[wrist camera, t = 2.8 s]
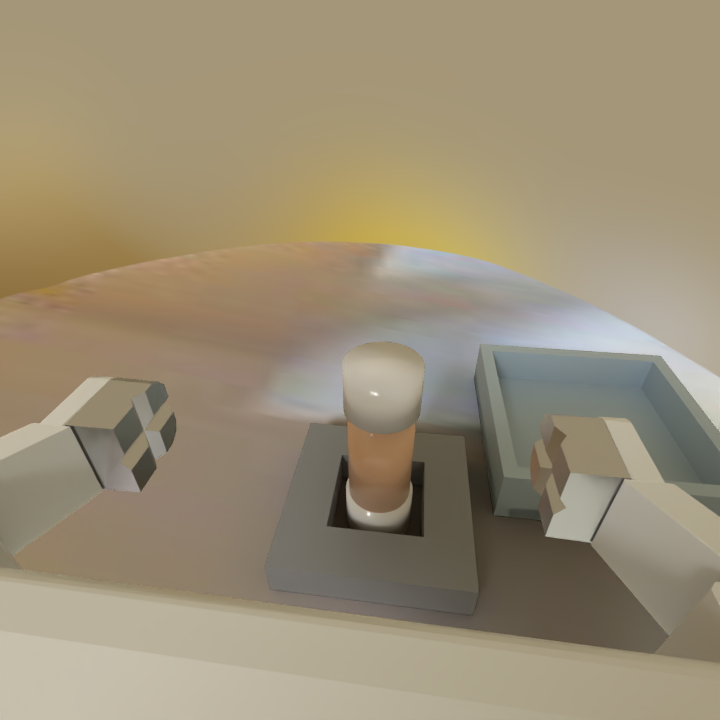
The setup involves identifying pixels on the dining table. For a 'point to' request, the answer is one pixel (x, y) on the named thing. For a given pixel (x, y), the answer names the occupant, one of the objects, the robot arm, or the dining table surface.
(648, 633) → the dining table surface
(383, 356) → the cylinder
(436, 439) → the fuse holder
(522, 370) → the parts tray
